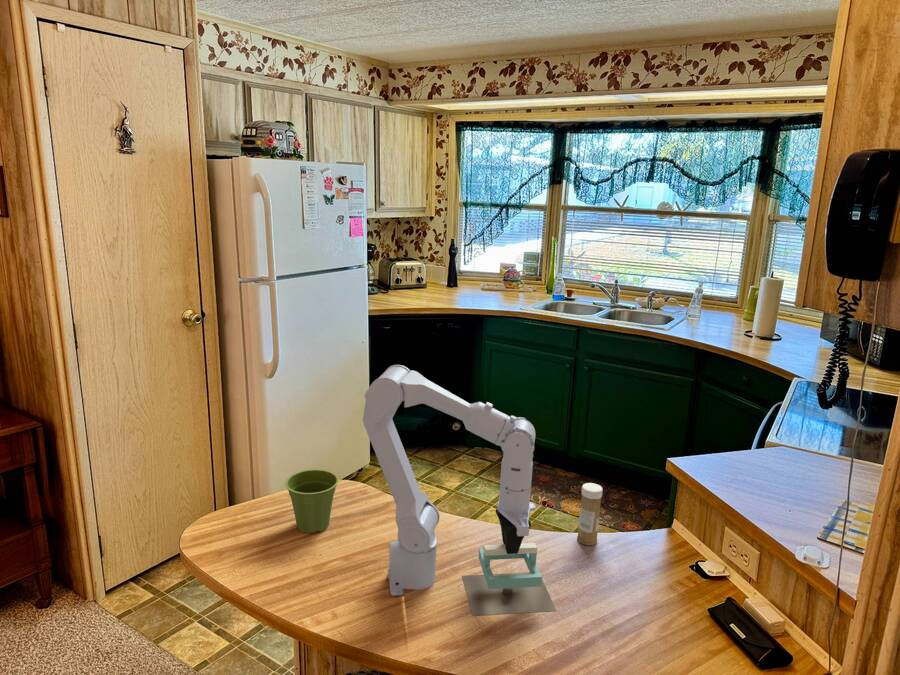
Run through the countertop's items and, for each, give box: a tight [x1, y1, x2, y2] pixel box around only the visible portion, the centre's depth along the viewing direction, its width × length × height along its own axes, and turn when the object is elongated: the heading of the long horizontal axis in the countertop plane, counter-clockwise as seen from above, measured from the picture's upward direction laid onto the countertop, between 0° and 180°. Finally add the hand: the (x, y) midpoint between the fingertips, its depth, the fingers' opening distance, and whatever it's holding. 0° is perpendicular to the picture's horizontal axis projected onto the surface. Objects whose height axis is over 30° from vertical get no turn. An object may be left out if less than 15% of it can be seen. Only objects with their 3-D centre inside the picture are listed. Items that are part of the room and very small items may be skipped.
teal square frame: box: [478, 542, 543, 589], centre depth 118 cm, size 10×10×5 cm
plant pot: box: [284, 468, 340, 534], centre depth 140 cm, size 12×12×11 cm
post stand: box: [461, 571, 557, 617], centre depth 119 cm, size 16×12×4 cm
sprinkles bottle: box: [576, 482, 604, 546], centre depth 139 cm, size 5×5×14 cm
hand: (510, 549), depth 117 cm, fingers closed on teal square frame
